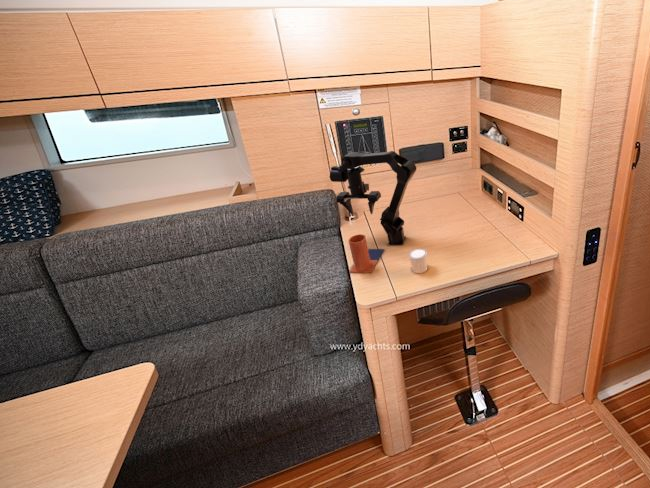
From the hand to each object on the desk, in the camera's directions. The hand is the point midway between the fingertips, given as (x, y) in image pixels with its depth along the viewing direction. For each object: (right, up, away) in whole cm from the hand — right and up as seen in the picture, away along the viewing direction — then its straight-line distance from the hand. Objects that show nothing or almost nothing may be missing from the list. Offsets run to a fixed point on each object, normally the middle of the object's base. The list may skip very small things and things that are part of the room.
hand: (362, 214), depth 150 cm
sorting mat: (+5, -18, -12) cm, 22 cm away
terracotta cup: (+5, -20, -16) cm, 26 cm away
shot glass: (+28, -20, -20) cm, 39 cm away
